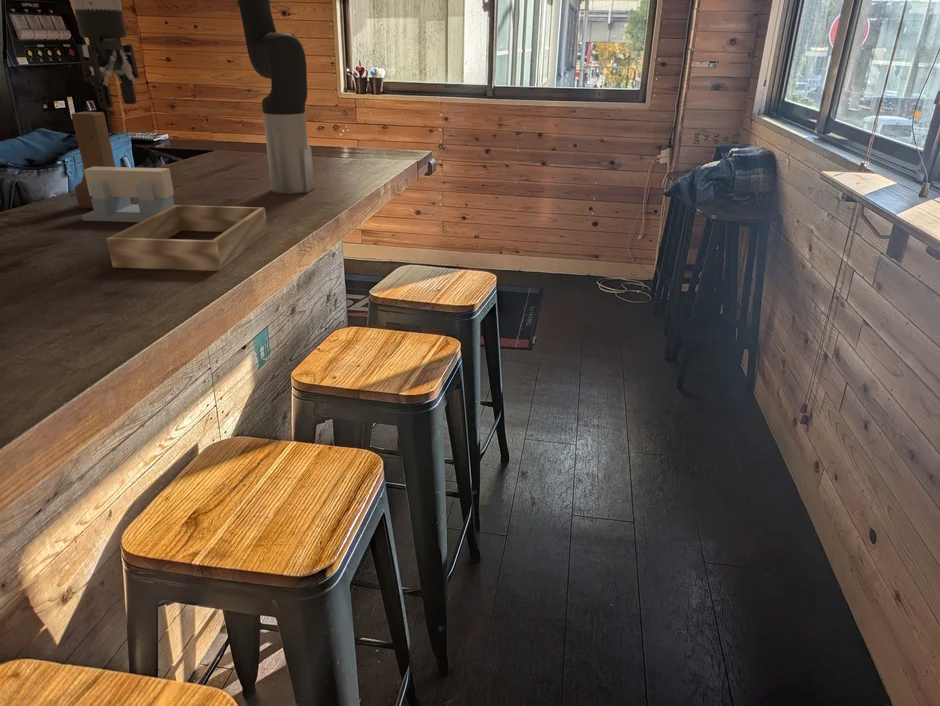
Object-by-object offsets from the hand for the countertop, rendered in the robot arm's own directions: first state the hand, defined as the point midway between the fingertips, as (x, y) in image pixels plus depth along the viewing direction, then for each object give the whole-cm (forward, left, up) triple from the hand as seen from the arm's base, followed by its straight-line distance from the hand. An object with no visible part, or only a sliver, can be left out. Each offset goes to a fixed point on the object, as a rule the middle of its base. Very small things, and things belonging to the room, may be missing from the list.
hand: (119, 105), depth 121 cm
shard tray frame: (-21, +22, -20) cm, 36 cm away
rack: (0, +1, -20) cm, 20 cm away
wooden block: (+12, -7, -21) cm, 25 cm away
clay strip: (0, +1, -16) cm, 16 cm away
